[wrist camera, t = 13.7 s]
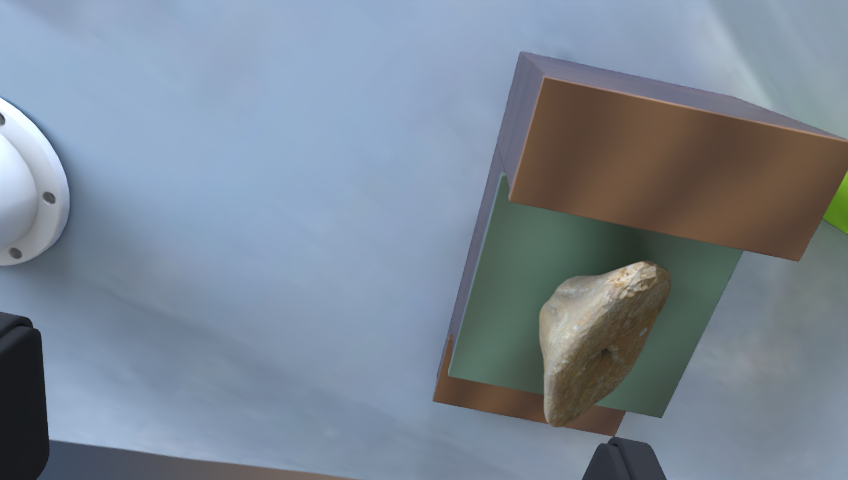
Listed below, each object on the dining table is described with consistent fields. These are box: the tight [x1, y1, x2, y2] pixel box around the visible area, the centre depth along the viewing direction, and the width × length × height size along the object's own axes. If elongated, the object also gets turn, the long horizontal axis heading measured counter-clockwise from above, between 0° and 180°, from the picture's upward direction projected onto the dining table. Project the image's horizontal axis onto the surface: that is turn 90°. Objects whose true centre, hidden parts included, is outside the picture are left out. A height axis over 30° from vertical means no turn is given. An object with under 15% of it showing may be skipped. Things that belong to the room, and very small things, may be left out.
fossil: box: [539, 261, 672, 427], centre depth 29 cm, size 9×4×10 cm
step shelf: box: [433, 51, 848, 437], centre depth 32 cm, size 13×24×11 cm, turn 169°
